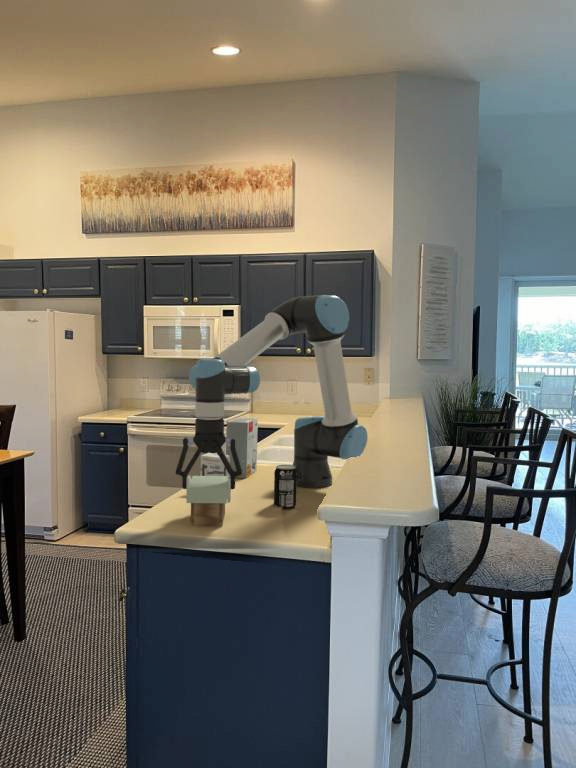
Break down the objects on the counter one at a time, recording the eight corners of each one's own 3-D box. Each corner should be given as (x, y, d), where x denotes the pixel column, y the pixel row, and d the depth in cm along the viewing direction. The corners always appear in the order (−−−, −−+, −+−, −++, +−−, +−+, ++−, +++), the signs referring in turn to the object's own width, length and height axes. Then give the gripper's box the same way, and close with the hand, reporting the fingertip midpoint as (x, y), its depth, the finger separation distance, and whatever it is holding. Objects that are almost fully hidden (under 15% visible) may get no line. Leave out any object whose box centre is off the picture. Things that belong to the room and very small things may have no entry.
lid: (229, 494, 173) (229, 476, 172) (226, 507, 159) (226, 487, 158) (192, 493, 172) (192, 475, 172) (186, 506, 158) (186, 487, 158)
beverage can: (283, 502, 188) (284, 463, 187) (300, 506, 184) (301, 466, 183) (269, 507, 183) (269, 466, 182) (286, 511, 179) (287, 469, 178)
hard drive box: (246, 479, 220) (247, 422, 219) (225, 477, 222) (226, 421, 220) (257, 470, 235) (258, 417, 234) (237, 469, 237) (238, 417, 236)
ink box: (199, 490, 201) (199, 454, 200) (207, 488, 205) (208, 452, 205) (221, 494, 197) (222, 457, 196) (230, 491, 201) (230, 455, 201)
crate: (225, 515, 172) (225, 490, 172) (222, 529, 160) (222, 502, 159) (195, 515, 172) (196, 490, 172) (190, 529, 159) (190, 502, 159)
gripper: (252, 416, 168) (251, 497, 170) (168, 415, 167) (167, 497, 169) (252, 420, 161) (251, 505, 162) (164, 418, 160) (163, 504, 161)
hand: (208, 501), depth 165 cm, fingers closed on lid, 10 cm apart
